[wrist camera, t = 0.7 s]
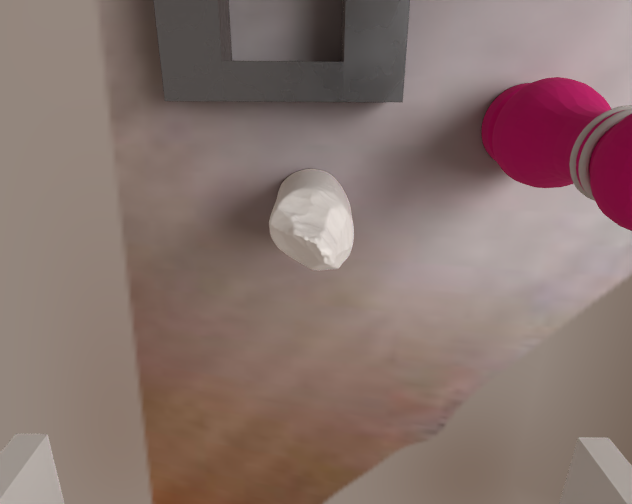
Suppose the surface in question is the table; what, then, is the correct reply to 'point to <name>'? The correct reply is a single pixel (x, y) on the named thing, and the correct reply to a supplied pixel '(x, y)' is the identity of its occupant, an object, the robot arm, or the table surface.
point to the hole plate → (281, 76)
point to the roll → (313, 220)
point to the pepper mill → (564, 142)
